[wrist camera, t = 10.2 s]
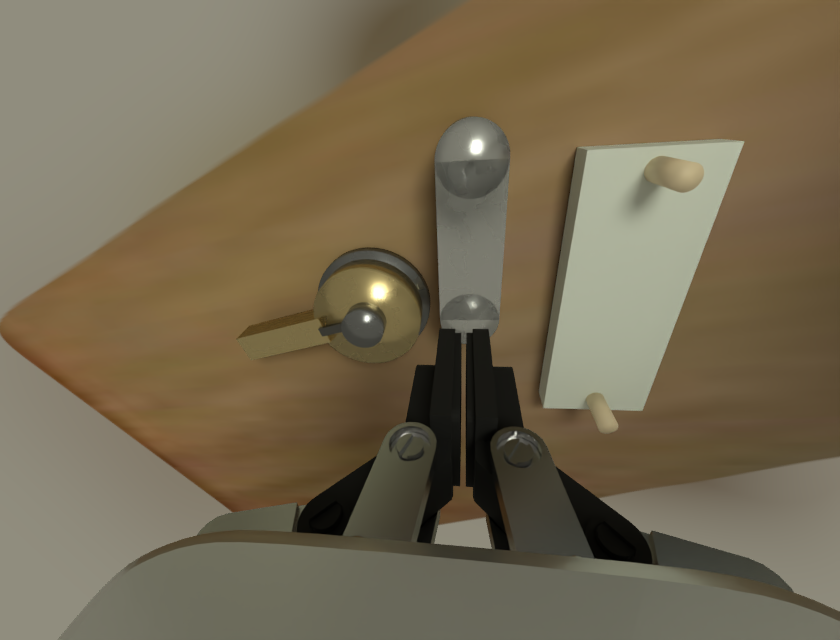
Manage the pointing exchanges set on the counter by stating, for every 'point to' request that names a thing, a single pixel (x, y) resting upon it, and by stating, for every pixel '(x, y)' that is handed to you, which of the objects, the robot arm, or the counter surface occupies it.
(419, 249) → the counter surface
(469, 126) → the steel bar
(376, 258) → the round gray base
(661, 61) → the counter surface
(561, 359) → the peg rest
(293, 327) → the gold handled disc
